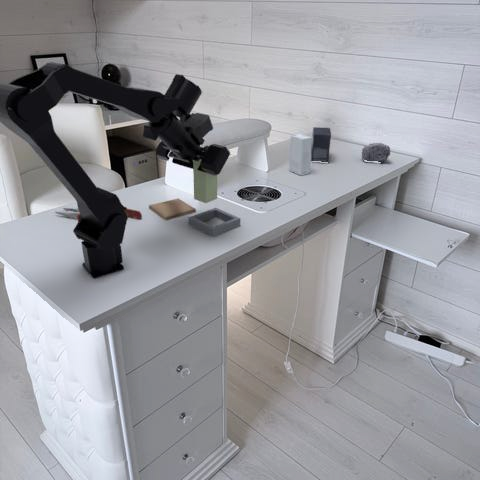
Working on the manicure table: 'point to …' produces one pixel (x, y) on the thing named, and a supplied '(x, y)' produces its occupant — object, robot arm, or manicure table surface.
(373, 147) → the pumice stone
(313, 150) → the small box
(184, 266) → the manicure table surface
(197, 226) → the gray square frame
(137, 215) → the pliers
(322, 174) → the manicure table surface
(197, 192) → the olive block
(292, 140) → the skincare box
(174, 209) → the walnut pad
